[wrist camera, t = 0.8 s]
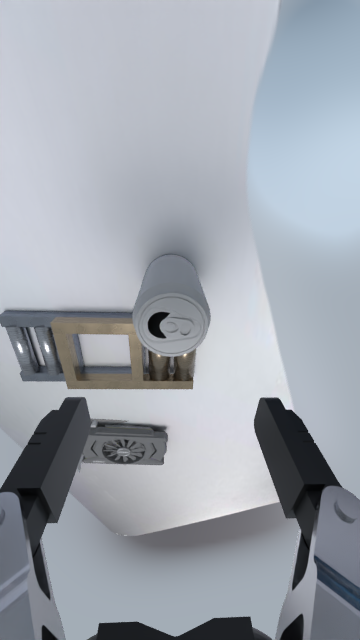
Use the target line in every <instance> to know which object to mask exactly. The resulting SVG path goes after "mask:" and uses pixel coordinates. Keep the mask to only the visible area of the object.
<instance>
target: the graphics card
mask: <svg viewBox="0 0 360 640" xmlns="http://www.w3.org/2000/svg"><path fill="white" fill-rule="evenodd" d="M90 420H91V426H90V432H89V435H88V438H87V441H86V444H85V447H84V449H83V452H82V455H81V458H80V461H79V463H78V466H77V473H78V472H80V469H81V463H83V462H84V463H105V464H139V465H163V464H164V457H163V456H164V455H165V453H166V450H167V446H166V442H165V441H168V435H167V434H166V433H165V432H154V431H153V429H151V427H137V426H119V425H114V424H118V423H122V422H127V421H122V420H104V419H90ZM83 455H84V457H83Z"/></svg>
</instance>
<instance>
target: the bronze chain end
mask: <svg viewBox="0 0 360 640" xmlns="http://www.w3.org/2000/svg"><path fill="white" fill-rule="evenodd" d="M50 324H51V328H52V331H53V335H54V339H55V343H56V346H57V350H58V354H59V357H60V361H61V365H62V369H63V372H64V376H65V380H66V384H67V387H68V389H193V376H194V366H195V354H196V349H194V350H193V351H191V352H189V353H187V354H184V355H181V356H174V368H173V374H170V357H168V356H162V355H158V354H156V353H153V352H152V351H150V350H148V354H149V374H144V355H143V344H142V343H141V342H140V340H139V339H138V337H137V334H136V330H135V328H134V325H133V319H132V318H86V317H55V318H54V319H53V321H52V322H51V323H50ZM72 334H124V335H129V346H130V357H131V369H132V374H81V372H80V368H79V363H78V359H77V354H76V350H75V345H74V341H73V336H72Z"/></svg>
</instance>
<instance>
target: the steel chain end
mask: <svg viewBox="0 0 360 640" xmlns="http://www.w3.org/2000/svg"><path fill="white" fill-rule="evenodd" d="M132 315H133V313H105V312H46V311H5V312H3V313H2V314H0V323H1V326H2V327H6V330H7V333H8V335H9V338H10V341H11V343H12V346H13V349H14V351H15V354H16V357H17V359H18V362H19V364H20V367H21V370H22V371H21V372H20V375H21V378H22V380H23V381H66V380H65V376H64V372H63V369H62V365H61V361H60V357H59V354H58V350H57V346H56V343H55V339H54V335H53V331H52V328H51V324H50V323H51V322H52V321H53V319H54V318H55V317H86V318H132ZM26 327H34V329H35V332H36V336H37V339H38V342H39V345H40V349H41V352H42V355H43V358H44V361H45V365H46V366H38V364H37V361H36V358H35V355H34V352H33V349H32V345H31V342H30V339H29V336H28V333H27V330H26ZM72 336H73V341H74V345H75V350H76V354H77V359H78V363H79V368H80V372H81V374H132V369H131V367H84V363H83V358H82V353H81V348H80V344H79V339H78V334H72ZM143 355H144V374H146V366H145V346H144V345H143Z"/></svg>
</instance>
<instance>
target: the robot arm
mask: <svg viewBox="0 0 360 640" xmlns="http://www.w3.org/2000/svg"><path fill="white" fill-rule="evenodd" d="M90 426H91V420H90V415H89V411H88V407H87V402H86V399H85V398H84V397H67V398H65V400H64V401H63V403H62V405H61V407H60V409H59V410H52V411H51V412H50V413H49V414H48V415H46V416H45V417H44V418H43V419H42V420H41V422H40V423H39V425H38V427H37V428H36V430H35V432H34V435H32V437H31V438H30V440H29V442H28V445H26V447H25V448H24V450H23V452H22V454H21V456H20V457H19V459H18V460H17V462H16V464H15V465H14V467H13V469H12V470H11V472H10V474H9V475H8V477H7V479H6V480H5V482H4V484H3V485H2V487H1V489H0V640H66V639H65V634H64V630H63V626H62V622H61V618H60V615H59V612H58V610H57V607H56V604H55V600H54V596H53V591H52V586H51V582H50V577H49V572H48V567H47V562H46V557H45V553H44V548H43V543H42V538H41V537H42V534H43V532H44V529H45V526H46V524H47V523H57V522H58V520H59V517H60V514H61V511H62V508H63V506H64V502H65V500H66V497H67V494H68V492H69V489H70V486H71V483H72V480H73V477H74V475H75V472H76V469H77V466H78V463H79V461H80V458H81V455H82V452H83V449H84V447H85V444H86V441H87V438H88V435H89V432H90ZM254 429H255V433H256V436H257V439H258V442H259V444H260V447H261V450H262V453H263V455H264V458H265V461H266V464H267V467H268V469H269V472H270V475H271V478H272V480H273V483H274V486H275V489H276V492H277V494H278V497H279V500H280V503H281V505H282V508H283V511H284V514H285V516H286V518H297V521H298V524H299V526H300V529H299V532H298V538H297V543H296V549H295V554H294V559H293V565H292V570H291V576H290V581H289V586H288V591H287V594H286V598H285V600H284V603H283V606H282V609H281V613H280V617H279V622H278V626H277V632H276V637H275V640H360V500H359V499H358V498H357V497H356V496H354V495H353V494H352V493H351V492H349V491H348V490H346V489H344V488H342V486H341V485H340V483H339V482H338V481H337V479H336V477H335V475H334V474H333V472H332V470H331V469H330V467H329V465H328V464H327V462H326V460H325V458H324V457H323V455H322V453H321V452H320V450H319V448H318V447H317V445H316V443H314V440H313V438H312V437H311V435H310V433H308V430H307V428H306V427H305V425H304V423H303V421H302V420H301V419H300V418H299V417H298V416H297V415H296V414H295V413H294V412H293V411H292V410H286V409H285V408H284V406H283V404H282V402H281V400H280V399H279V398H260V400H259V404H258V408H257V411H256V415H255V419H254ZM88 640H272V639H271V638H270V637H268V636H267V635H266V634H264V633H262V632H261V631H259V630H257V629H255V628H253V627H252V623H251V618H250V617H231V618H213V619H211V620H210V621H208V622H206V623H204V624H202V625H200V626H198V627H196V628H194V629H192V630H190V631H188V632H186V633H184V634H182V635H180V636H176V637H174V636H171V635H168V634H166V633H163V632H161V631H159V630H156V629H154V628H151V627H149V626H146V625H144V624H142V623H139V622H121V623H120V622H118V623H99V627H98V633H97V634H96V635H94V636H92V637H91V638H89V639H88Z"/></svg>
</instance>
